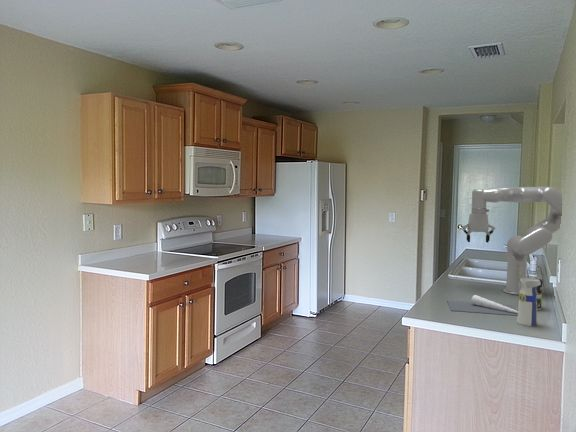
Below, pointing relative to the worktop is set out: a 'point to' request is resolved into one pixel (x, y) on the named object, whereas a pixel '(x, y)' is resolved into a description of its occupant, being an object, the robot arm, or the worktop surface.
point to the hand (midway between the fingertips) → (477, 242)
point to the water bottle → (527, 301)
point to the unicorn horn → (490, 304)
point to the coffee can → (538, 290)
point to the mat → (477, 308)
